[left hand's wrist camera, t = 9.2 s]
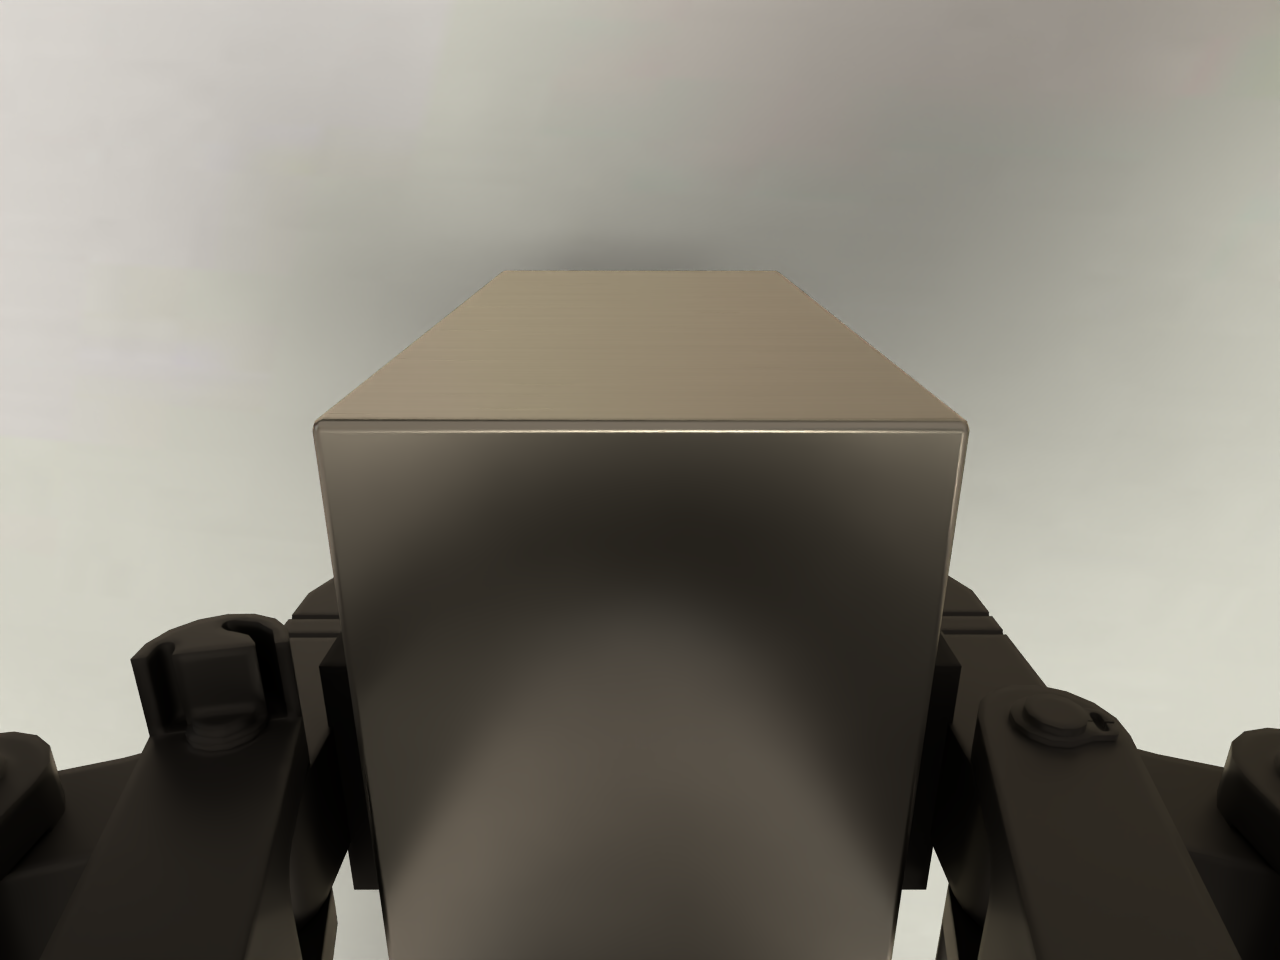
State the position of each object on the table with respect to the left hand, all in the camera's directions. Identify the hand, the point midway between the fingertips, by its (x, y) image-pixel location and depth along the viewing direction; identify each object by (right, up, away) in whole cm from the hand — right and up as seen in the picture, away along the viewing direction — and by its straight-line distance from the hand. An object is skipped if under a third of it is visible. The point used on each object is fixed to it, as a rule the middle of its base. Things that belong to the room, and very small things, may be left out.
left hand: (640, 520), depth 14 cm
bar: (0, -8, +4) cm, 8 cm away
